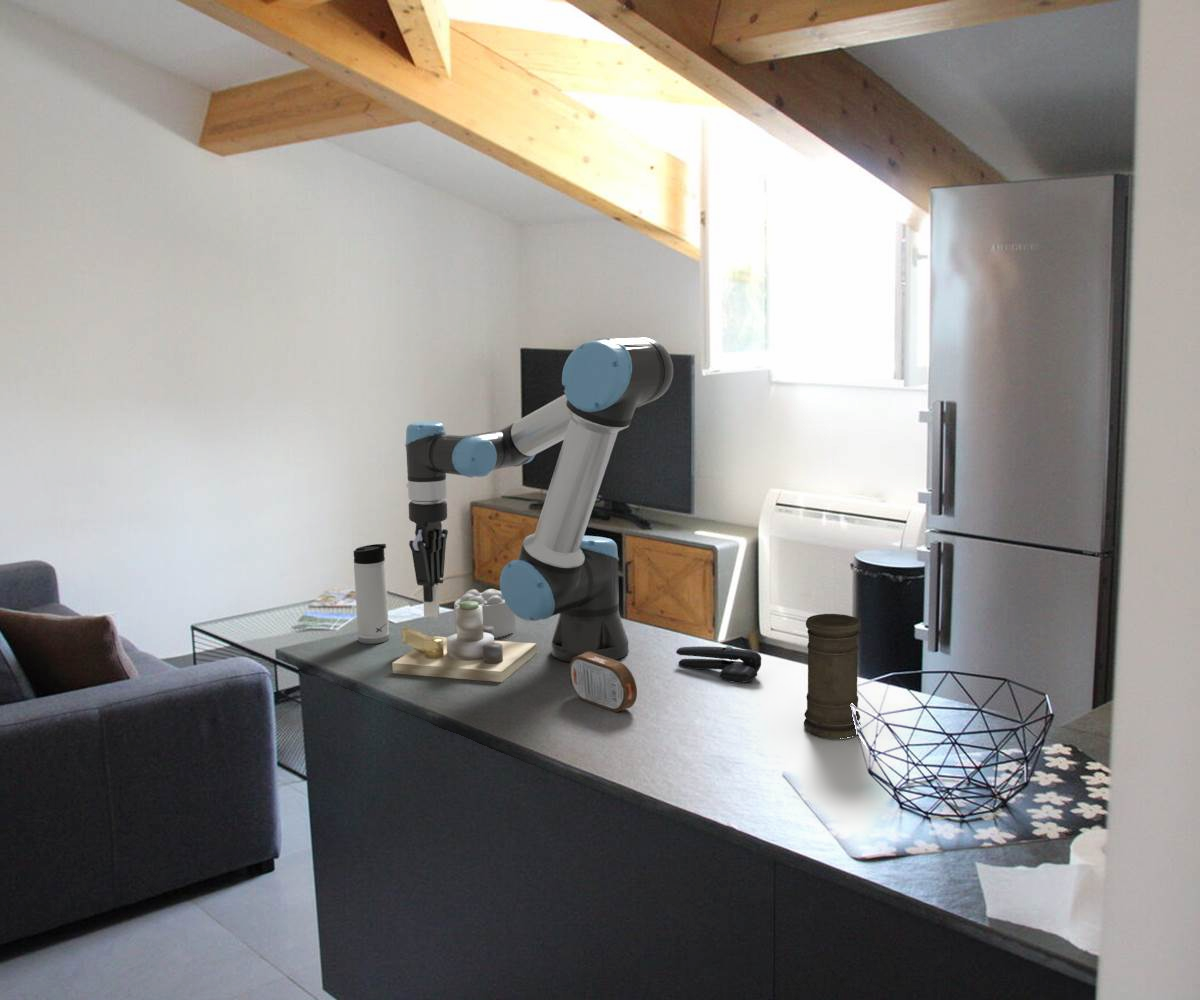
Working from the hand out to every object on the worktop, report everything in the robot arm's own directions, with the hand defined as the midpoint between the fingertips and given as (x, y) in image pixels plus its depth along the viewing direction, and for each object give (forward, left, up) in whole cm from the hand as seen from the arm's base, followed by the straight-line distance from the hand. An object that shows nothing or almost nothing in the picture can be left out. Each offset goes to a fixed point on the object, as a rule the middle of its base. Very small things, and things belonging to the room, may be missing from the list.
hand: (431, 616), depth 234 cm
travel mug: (+14, -1, -6) cm, 15 cm away
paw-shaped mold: (-6, -11, -6) cm, 14 cm away
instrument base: (-11, +9, -6) cm, 16 cm away
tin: (-43, +25, -6) cm, 51 cm away
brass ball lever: (-2, +10, -4) cm, 11 cm away
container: (-82, +27, -6) cm, 87 cm away
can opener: (-59, +3, -7) cm, 60 cm away
